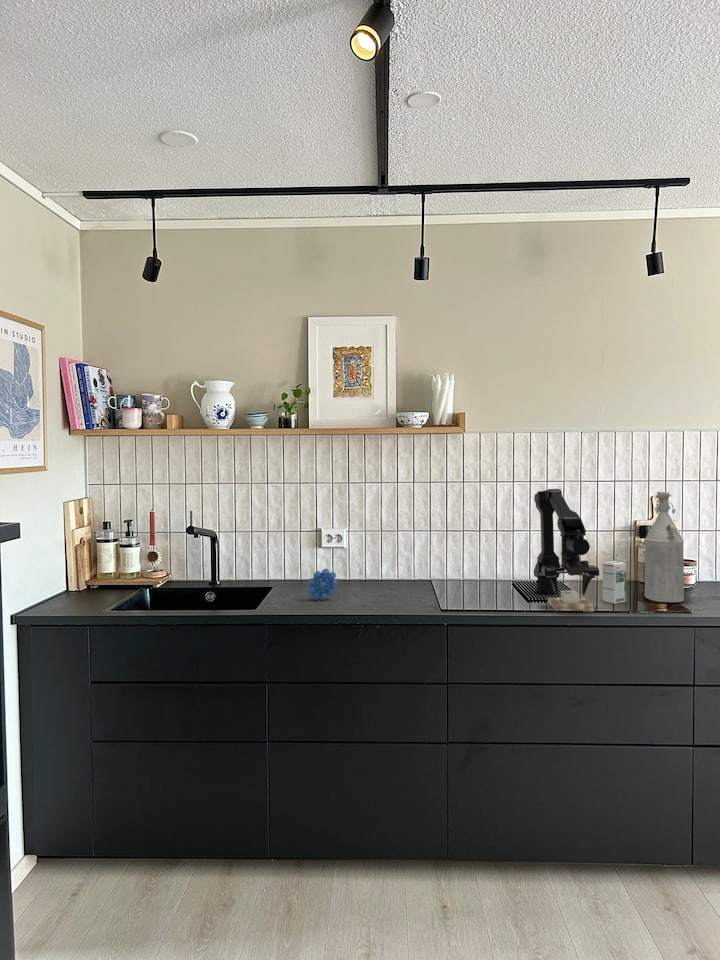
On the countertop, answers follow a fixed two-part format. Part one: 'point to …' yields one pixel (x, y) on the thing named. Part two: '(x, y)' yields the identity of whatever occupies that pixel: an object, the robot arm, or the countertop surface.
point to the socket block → (571, 605)
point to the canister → (664, 557)
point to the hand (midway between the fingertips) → (570, 595)
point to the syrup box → (614, 582)
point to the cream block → (569, 597)
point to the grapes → (322, 584)
